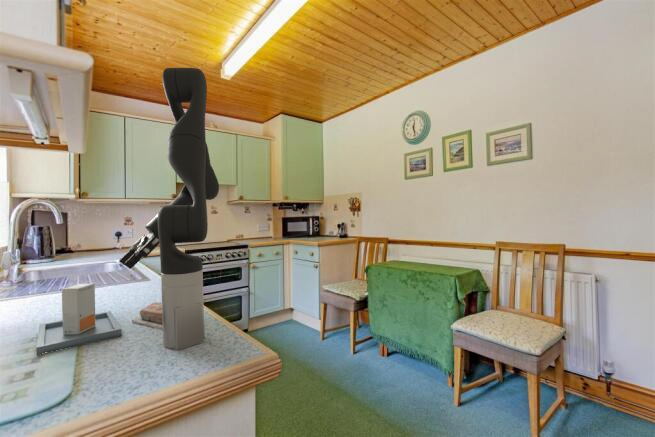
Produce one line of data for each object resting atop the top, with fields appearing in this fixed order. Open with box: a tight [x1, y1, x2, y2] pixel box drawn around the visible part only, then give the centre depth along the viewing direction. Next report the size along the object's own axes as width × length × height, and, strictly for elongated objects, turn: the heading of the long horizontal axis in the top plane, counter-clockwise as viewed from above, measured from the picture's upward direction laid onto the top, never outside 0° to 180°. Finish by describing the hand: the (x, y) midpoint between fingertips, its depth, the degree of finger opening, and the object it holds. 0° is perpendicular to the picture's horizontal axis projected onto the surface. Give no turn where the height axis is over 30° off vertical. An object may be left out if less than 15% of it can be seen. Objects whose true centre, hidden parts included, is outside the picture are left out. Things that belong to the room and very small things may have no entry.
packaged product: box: [131, 302, 163, 331], centre depth 90 cm, size 18×5×10 cm
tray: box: [36, 310, 122, 356], centre depth 83 cm, size 20×16×2 cm
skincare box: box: [61, 283, 96, 335], centre depth 83 cm, size 6×4×12 cm
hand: (124, 265), depth 89 cm, fingers open, 8 cm apart
